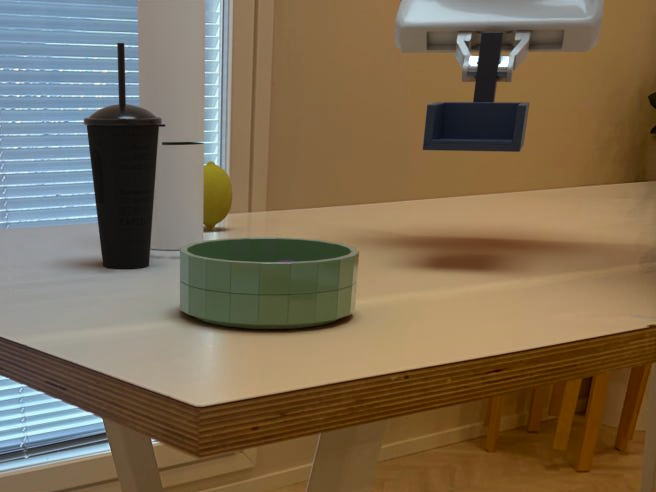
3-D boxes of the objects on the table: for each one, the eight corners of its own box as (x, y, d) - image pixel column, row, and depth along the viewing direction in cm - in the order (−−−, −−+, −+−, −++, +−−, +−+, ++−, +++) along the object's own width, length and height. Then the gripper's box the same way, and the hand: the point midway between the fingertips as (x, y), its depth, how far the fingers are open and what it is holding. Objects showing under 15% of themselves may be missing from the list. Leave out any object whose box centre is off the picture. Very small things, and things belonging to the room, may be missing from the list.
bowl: (366, 302, 89) (371, 241, 86) (335, 337, 77) (340, 267, 74) (208, 293, 92) (209, 234, 90) (156, 325, 81) (155, 258, 78)
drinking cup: (155, 271, 103) (152, 41, 93) (81, 269, 104) (71, 42, 94) (169, 260, 110) (167, 43, 100) (99, 258, 111) (91, 44, 101)
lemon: (215, 226, 135) (216, 159, 131) (240, 230, 131) (241, 161, 127) (180, 229, 132) (180, 160, 129) (204, 233, 128) (205, 163, 125)
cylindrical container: (159, 240, 123) (156, -5, 112) (213, 243, 121) (216, -8, 109) (130, 247, 118) (124, -10, 106) (186, 251, 115) (187, -12, 103)
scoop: (524, 144, 106) (540, 31, 101) (519, 151, 96) (537, 27, 91) (435, 143, 108) (447, 33, 103) (422, 150, 99) (434, 29, 94)
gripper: (404, -56, 106) (381, 51, 103) (615, -63, 100) (598, 50, 97) (405, -2, 112) (383, 101, 109) (604, -6, 106) (588, 102, 103)
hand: (486, 77), depth 103 cm, fingers closed on scoop
